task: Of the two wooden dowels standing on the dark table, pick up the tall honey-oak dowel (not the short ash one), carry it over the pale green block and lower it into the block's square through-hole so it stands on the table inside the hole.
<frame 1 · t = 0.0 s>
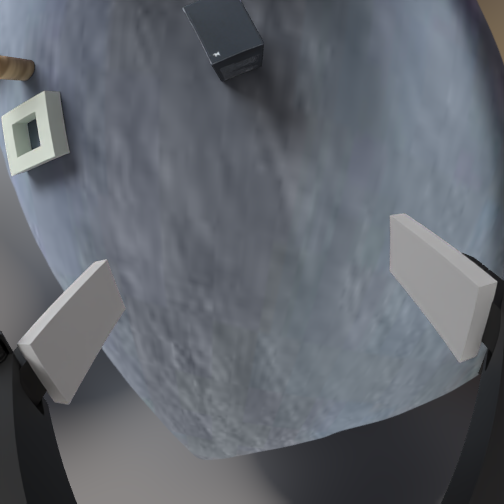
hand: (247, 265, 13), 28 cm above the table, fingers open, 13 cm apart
hole block: (40, 132, 36), on the table
box: (230, 49, 33), on the table
long pin: (26, 70, 32), on the table
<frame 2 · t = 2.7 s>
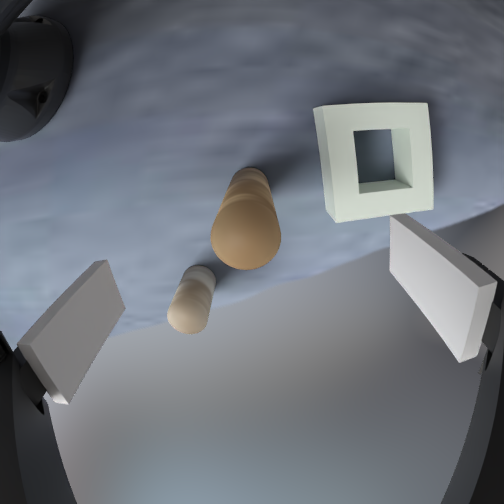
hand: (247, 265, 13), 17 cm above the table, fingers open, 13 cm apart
hole block: (369, 155, 27), on the table
long pin: (249, 186, 29), on the table
short pin: (199, 280, 33), on the table
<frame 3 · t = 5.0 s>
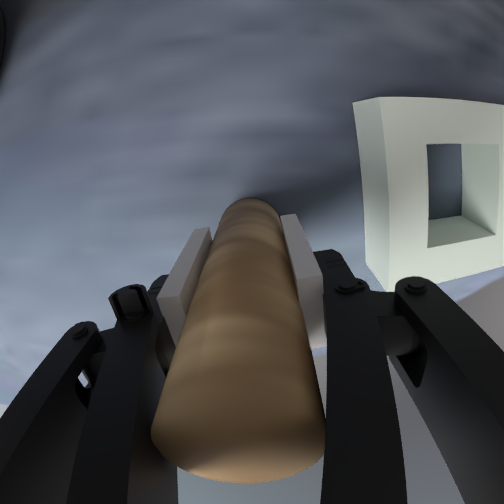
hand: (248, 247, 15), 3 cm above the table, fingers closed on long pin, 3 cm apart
hole block: (431, 179, 17), on the table
long pin: (250, 228, 18), on the table, touching gripper
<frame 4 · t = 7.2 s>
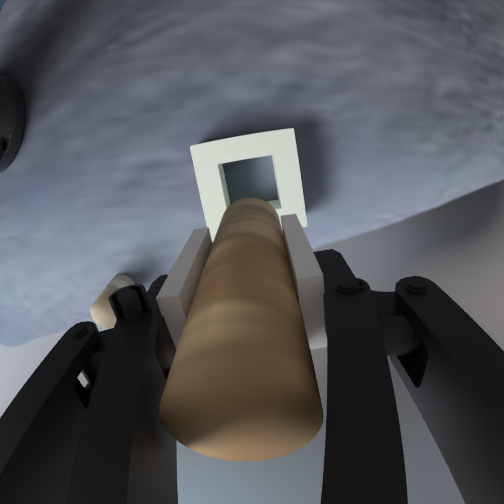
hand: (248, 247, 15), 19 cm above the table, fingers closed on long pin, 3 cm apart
hole block: (250, 179, 33), on the table
long pin: (250, 225, 19), point 16 cm above the table, touching gripper
short pin: (123, 286, 38), on the table
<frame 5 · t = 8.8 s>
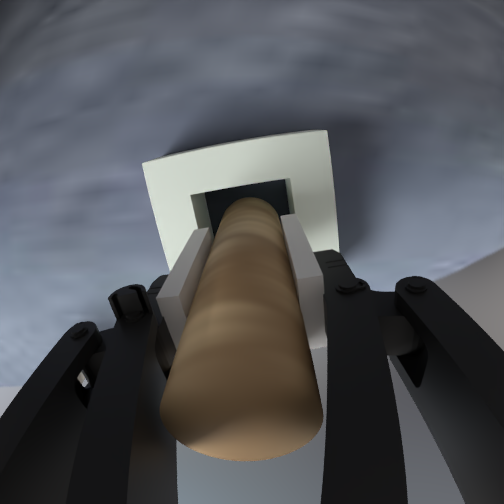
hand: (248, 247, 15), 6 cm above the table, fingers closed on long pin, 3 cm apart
hole block: (249, 213, 21), on the table
long pin: (250, 225, 19), point 2 cm above the table, touching gripper
when the fingers open (6 cm above the table, at t = 9.7 s): long pin drops 1 cm, resting in hole block.
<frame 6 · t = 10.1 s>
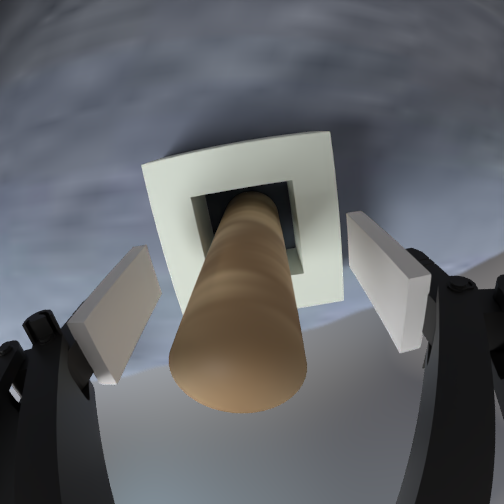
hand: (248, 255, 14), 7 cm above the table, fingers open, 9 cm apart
hole block: (250, 216, 20), on the table
long pin: (251, 217, 20), resting in hole block
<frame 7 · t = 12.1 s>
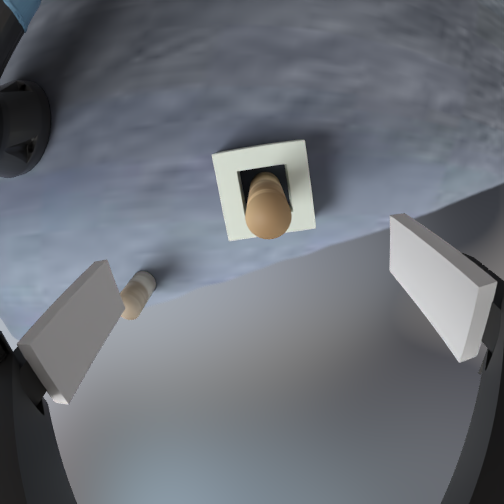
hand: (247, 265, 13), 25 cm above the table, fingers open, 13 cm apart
hole block: (264, 185, 37), on the table
long pin: (265, 186, 37), resting in hole block
short pin: (144, 282, 42), on the table
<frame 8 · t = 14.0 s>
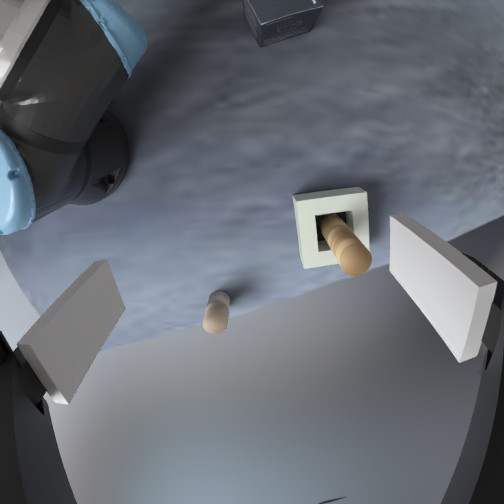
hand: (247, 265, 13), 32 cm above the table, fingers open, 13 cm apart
hole block: (329, 222, 45), on the table
box: (277, 24, 34), on the table
long pin: (329, 223, 45), resting in hole block
short pin: (219, 300, 51), on the table
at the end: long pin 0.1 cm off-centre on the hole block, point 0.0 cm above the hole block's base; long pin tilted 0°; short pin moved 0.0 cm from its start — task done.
